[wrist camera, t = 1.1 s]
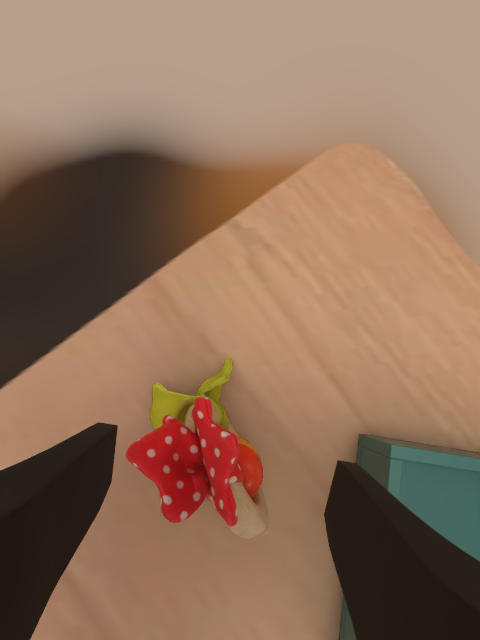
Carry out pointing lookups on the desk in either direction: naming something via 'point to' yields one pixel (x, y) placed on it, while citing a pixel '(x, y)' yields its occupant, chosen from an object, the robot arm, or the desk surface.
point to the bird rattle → (201, 458)
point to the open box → (426, 490)
